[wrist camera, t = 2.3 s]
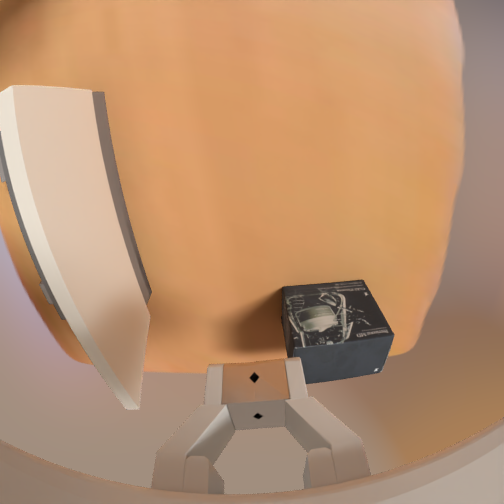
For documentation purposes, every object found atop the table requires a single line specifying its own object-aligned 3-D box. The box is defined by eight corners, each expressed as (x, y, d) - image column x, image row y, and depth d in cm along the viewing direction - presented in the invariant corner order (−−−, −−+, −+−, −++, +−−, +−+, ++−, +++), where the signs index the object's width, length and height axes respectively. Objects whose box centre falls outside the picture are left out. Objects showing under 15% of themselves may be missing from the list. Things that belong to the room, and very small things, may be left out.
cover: (-4, 94, 8) (12, 85, 8) (79, 94, 18) (91, 90, 18) (126, 409, 19) (139, 409, 19) (140, 317, 30) (150, 316, 30)
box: (364, 276, 34) (397, 334, 25) (356, 316, 37) (381, 374, 28) (280, 284, 34) (293, 349, 25) (280, 324, 38) (290, 388, 28)
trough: (18, 127, 23) (-8, 135, 18) (103, 91, 23) (79, 92, 18) (72, 296, 35) (57, 319, 30) (151, 291, 34) (141, 318, 30)
